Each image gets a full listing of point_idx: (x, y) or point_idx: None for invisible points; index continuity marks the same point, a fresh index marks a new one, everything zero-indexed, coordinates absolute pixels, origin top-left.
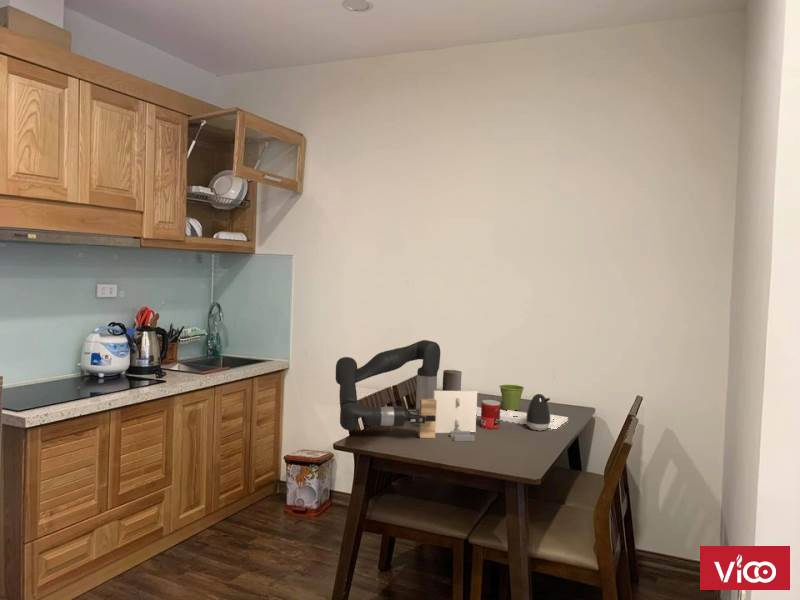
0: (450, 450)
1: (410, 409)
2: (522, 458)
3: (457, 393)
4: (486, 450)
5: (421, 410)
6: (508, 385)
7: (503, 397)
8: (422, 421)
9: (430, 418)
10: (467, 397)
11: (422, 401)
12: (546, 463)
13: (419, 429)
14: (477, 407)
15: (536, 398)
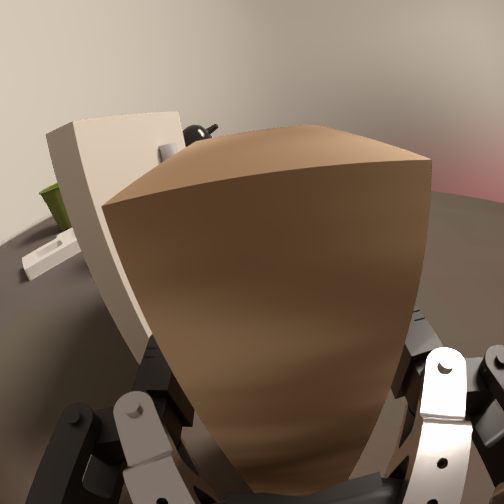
0: (495, 327)
1: (39, 500)
2: (444, 209)
3: (152, 123)
4: (428, 248)
5: (388, 380)
6: (46, 189)
7: (58, 207)
8: (489, 405)
9: (421, 330)
10: (173, 138)
11: (418, 174)
12: (448, 194)
13: (303, 492)
14: (40, 248)
15: (200, 131)
